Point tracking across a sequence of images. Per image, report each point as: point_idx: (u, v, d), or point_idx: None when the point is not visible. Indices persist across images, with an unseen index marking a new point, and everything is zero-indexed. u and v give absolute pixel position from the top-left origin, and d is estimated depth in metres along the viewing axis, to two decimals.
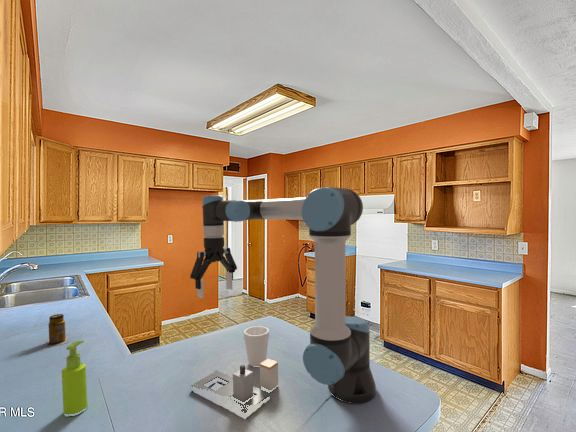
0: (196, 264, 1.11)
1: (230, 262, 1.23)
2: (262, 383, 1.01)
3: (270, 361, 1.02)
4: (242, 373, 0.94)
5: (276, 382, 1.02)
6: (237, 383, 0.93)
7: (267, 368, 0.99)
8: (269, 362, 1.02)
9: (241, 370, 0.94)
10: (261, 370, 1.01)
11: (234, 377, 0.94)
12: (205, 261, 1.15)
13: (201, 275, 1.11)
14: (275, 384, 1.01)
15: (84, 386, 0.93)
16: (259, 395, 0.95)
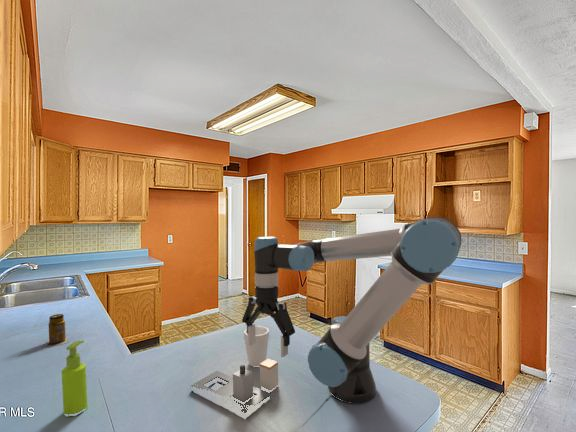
0: None
1: None
2: (262, 383, 1.01)
3: (270, 361, 1.02)
4: (242, 373, 0.94)
5: (276, 382, 1.02)
6: (237, 383, 0.93)
7: (267, 368, 0.99)
8: (269, 362, 1.02)
9: (241, 370, 0.94)
10: (261, 370, 1.01)
11: (234, 377, 0.94)
12: None
13: (248, 321, 1.04)
14: (275, 384, 1.01)
15: (84, 386, 0.93)
16: (259, 395, 0.95)
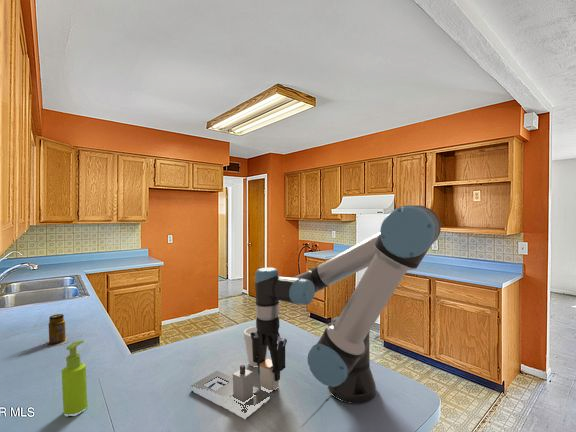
0: None
1: None
2: (262, 383, 1.01)
3: (270, 361, 1.02)
4: (242, 373, 0.94)
5: None
6: (237, 383, 0.93)
7: (267, 368, 0.99)
8: (268, 362, 1.02)
9: (241, 370, 0.94)
10: (261, 370, 1.01)
11: (234, 377, 0.94)
12: None
13: (258, 360, 1.03)
14: None
15: (84, 386, 0.93)
16: (259, 395, 0.95)
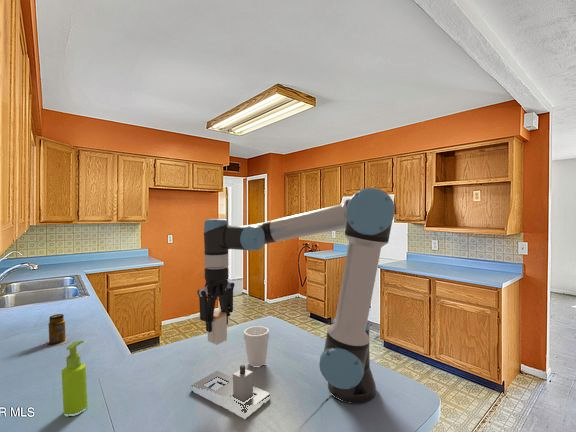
0: (202, 305, 0.97)
1: (228, 301, 1.05)
2: (219, 335, 1.00)
3: (215, 312, 1.02)
4: (242, 373, 0.94)
5: None
6: (237, 383, 0.93)
7: (224, 315, 1.01)
8: (215, 313, 1.02)
9: (241, 370, 0.94)
10: (218, 322, 0.99)
11: (234, 377, 0.94)
12: (209, 298, 0.99)
13: (211, 316, 0.98)
14: None
15: (84, 386, 0.93)
16: (259, 395, 0.95)
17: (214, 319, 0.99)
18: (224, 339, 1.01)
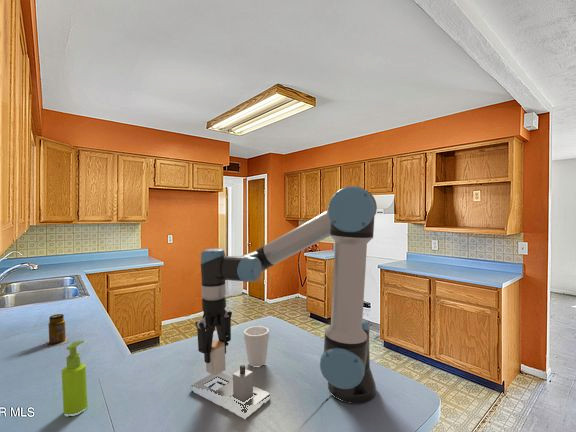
0: (200, 337, 0.97)
1: (226, 330, 1.05)
2: (217, 365, 1.00)
3: (213, 342, 1.02)
4: (242, 373, 0.94)
5: None
6: (237, 383, 0.93)
7: (222, 345, 1.01)
8: (213, 343, 1.02)
9: (241, 370, 0.94)
10: (216, 352, 0.99)
11: (234, 377, 0.94)
12: (207, 329, 0.99)
13: (209, 347, 0.98)
14: None
15: (84, 386, 0.93)
16: (259, 395, 0.95)
17: (212, 350, 0.99)
18: (222, 369, 1.02)
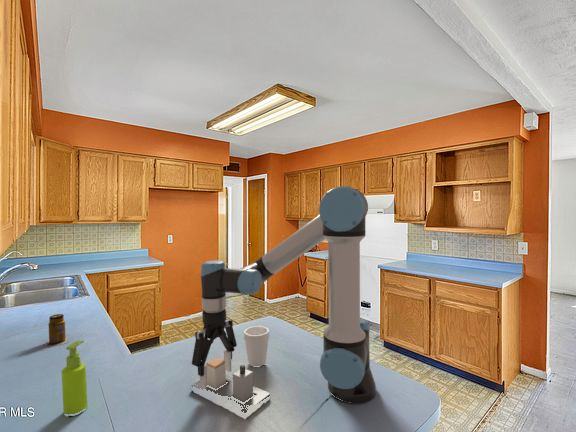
0: (197, 348, 0.96)
1: (230, 337, 1.07)
2: (218, 384, 1.00)
3: (213, 361, 1.02)
4: (242, 373, 0.94)
5: None
6: (237, 383, 0.93)
7: (222, 364, 1.01)
8: (214, 361, 1.02)
9: (241, 370, 0.94)
10: (217, 371, 0.99)
11: (234, 377, 0.94)
12: (206, 340, 0.99)
13: (204, 360, 0.96)
14: None
15: (84, 386, 0.93)
16: (259, 395, 0.95)
17: (213, 369, 0.99)
18: None
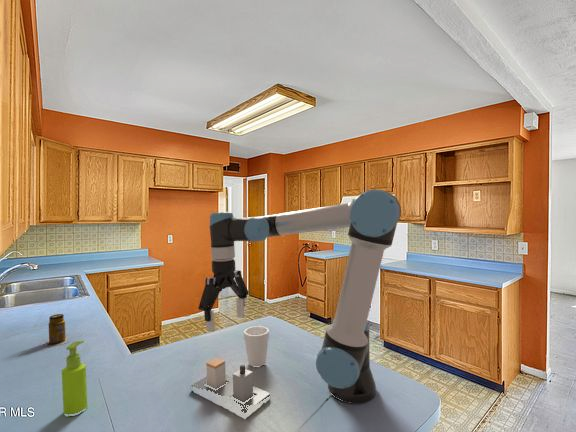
0: (205, 292, 0.96)
1: (241, 286, 1.09)
2: (218, 384, 1.00)
3: (213, 361, 1.02)
4: (242, 373, 0.94)
5: None
6: (237, 383, 0.93)
7: (222, 364, 1.01)
8: (214, 361, 1.02)
9: (241, 370, 0.94)
10: (217, 371, 0.99)
11: (234, 377, 0.94)
12: (214, 288, 0.99)
13: (211, 305, 0.96)
14: None
15: (84, 386, 0.93)
16: (259, 395, 0.95)
17: (213, 369, 0.99)
18: None
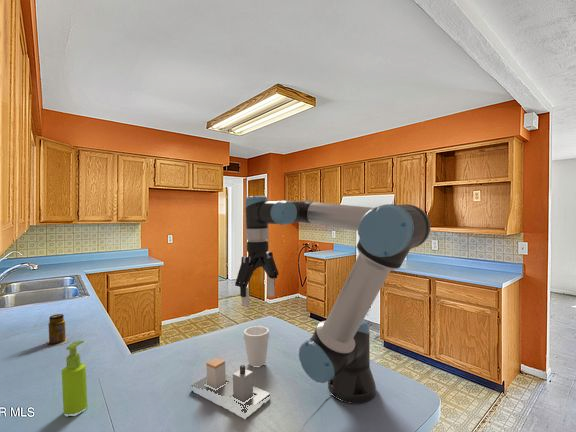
0: (242, 270, 1.03)
1: (272, 267, 1.15)
2: (218, 384, 1.00)
3: (213, 361, 1.02)
4: (242, 373, 0.94)
5: None
6: (237, 383, 0.93)
7: (222, 364, 1.01)
8: (214, 361, 1.02)
9: (241, 370, 0.94)
10: (217, 371, 0.99)
11: (234, 377, 0.94)
12: (249, 267, 1.06)
13: (247, 282, 1.03)
14: None
15: (84, 386, 0.93)
16: (259, 395, 0.95)
17: (213, 369, 0.99)
18: None
